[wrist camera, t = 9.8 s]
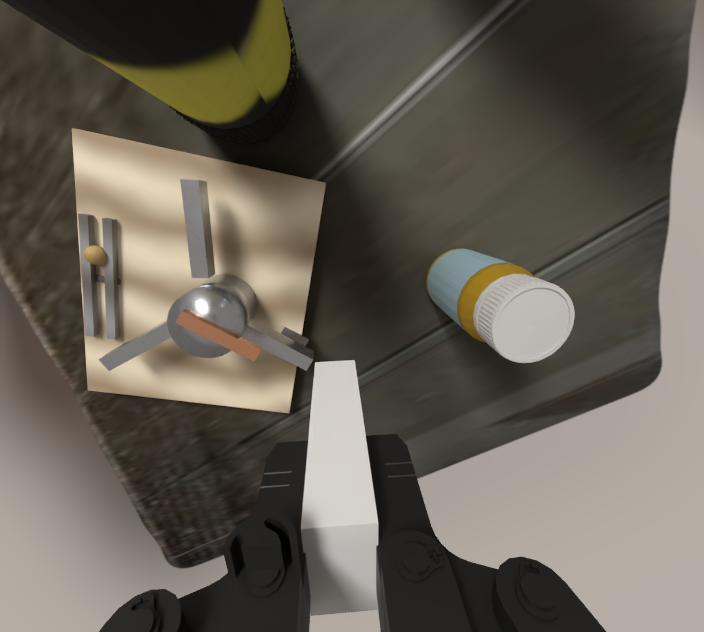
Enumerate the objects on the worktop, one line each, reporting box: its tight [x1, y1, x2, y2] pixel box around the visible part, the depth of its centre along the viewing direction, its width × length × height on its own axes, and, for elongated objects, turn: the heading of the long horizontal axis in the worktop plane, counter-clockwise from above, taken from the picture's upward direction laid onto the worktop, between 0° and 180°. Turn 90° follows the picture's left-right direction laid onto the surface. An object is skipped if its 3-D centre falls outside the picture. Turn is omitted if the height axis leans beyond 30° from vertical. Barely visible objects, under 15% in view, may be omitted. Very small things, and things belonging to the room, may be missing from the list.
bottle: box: [426, 248, 574, 363], centre depth 30 cm, size 7×7×15 cm
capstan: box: [99, 179, 314, 371], centre depth 31 cm, size 17×20×7 cm
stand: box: [72, 128, 326, 413], centre depth 34 cm, size 26×23×4 cm
